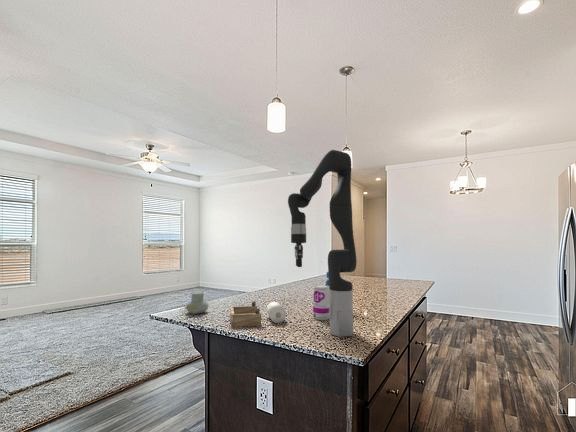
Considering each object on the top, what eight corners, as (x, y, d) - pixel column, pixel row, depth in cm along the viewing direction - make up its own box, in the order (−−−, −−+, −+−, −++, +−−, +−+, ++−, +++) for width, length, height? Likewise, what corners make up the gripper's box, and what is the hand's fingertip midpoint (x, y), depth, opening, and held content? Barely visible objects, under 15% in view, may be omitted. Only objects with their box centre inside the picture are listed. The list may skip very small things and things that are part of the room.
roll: (285, 323, 141) (286, 306, 142) (270, 323, 140) (270, 306, 140) (280, 316, 153) (281, 301, 154) (266, 316, 152) (266, 301, 152)
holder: (261, 325, 136) (261, 309, 137) (231, 327, 133) (231, 310, 134) (256, 315, 154) (256, 301, 154) (230, 317, 151) (230, 302, 151)
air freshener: (210, 311, 162) (211, 292, 163) (201, 315, 155) (202, 294, 155) (192, 310, 166) (193, 291, 166) (183, 313, 158) (183, 293, 159)
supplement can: (324, 321, 143) (324, 288, 145) (309, 318, 148) (309, 286, 149) (333, 317, 150) (333, 286, 151) (318, 315, 155) (318, 284, 156)
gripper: (307, 232, 148) (308, 267, 146) (304, 234, 162) (304, 265, 160) (291, 232, 147) (292, 267, 146) (290, 234, 162) (290, 265, 160)
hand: (298, 266), depth 153 cm, fingers open, 8 cm apart
